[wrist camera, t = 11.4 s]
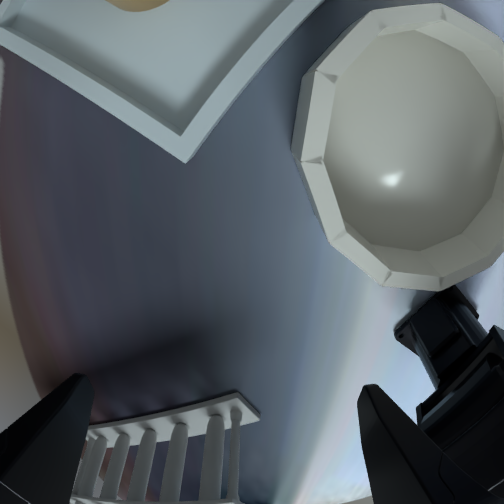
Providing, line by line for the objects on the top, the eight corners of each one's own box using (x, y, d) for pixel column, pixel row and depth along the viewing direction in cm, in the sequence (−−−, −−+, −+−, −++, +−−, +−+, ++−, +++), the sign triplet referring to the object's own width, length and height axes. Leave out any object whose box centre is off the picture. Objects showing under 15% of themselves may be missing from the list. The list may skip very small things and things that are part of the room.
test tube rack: (237, 390, 27) (231, 528, 15) (260, 414, 28) (262, 536, 17) (76, 426, 32) (48, 506, 20) (99, 443, 34) (76, 521, 22)
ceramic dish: (530, 148, 16) (564, 162, 12) (408, 295, 22) (430, 328, 18) (398, -24, 12) (427, -44, 8) (237, 155, 17) (232, 170, 14)
